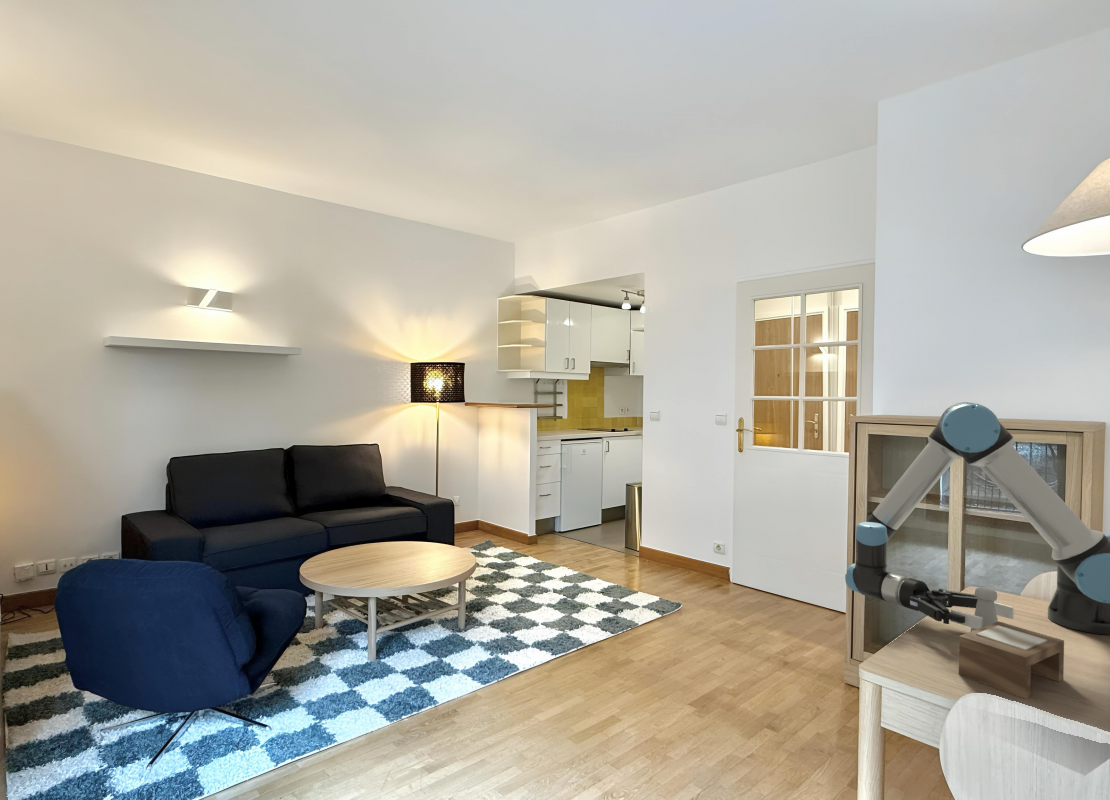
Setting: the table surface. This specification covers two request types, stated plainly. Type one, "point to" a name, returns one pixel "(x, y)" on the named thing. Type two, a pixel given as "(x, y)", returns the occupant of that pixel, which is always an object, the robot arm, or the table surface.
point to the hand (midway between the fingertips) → (997, 618)
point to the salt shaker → (986, 605)
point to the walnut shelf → (1010, 657)
